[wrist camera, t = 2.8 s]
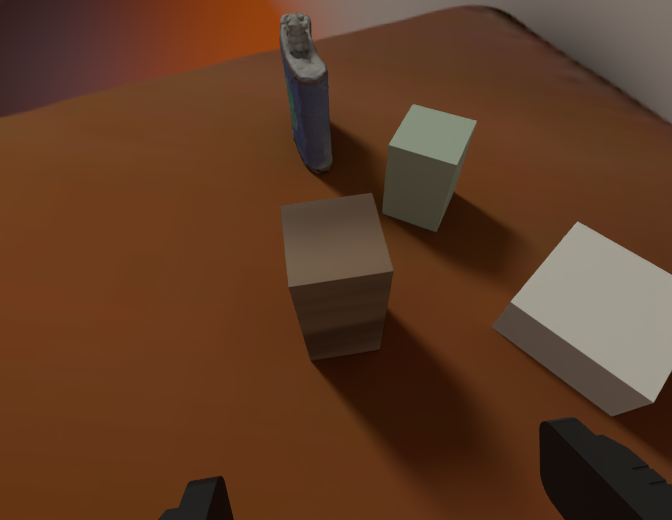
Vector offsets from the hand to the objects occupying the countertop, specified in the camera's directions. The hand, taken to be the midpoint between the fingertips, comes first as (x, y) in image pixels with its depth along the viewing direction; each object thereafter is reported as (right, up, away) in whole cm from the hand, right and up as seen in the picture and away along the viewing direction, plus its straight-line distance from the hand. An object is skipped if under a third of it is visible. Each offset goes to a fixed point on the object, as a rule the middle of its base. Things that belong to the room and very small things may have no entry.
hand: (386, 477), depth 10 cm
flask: (-4, +16, +26) cm, 31 cm away
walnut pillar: (-1, +1, +16) cm, 16 cm away
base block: (+15, +1, +16) cm, 22 cm away
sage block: (+5, +10, +22) cm, 25 cm away
